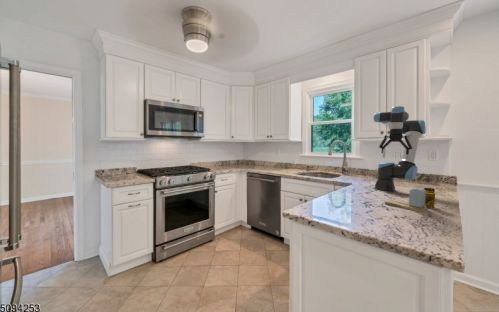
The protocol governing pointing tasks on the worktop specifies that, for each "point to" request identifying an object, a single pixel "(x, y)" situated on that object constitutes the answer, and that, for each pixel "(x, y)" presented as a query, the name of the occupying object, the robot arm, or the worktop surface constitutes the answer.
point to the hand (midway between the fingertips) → (394, 158)
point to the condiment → (430, 198)
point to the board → (403, 205)
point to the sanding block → (417, 198)
